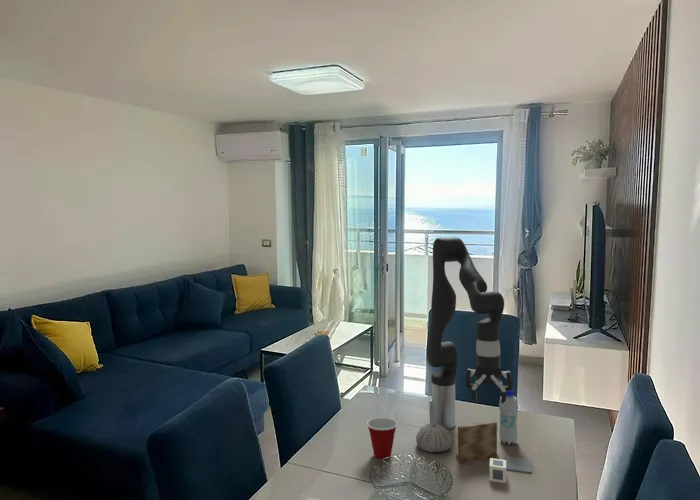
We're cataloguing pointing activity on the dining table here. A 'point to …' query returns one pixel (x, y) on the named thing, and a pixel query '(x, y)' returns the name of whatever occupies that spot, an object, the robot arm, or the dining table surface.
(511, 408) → the bottle
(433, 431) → the sea urchin shell
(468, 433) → the walnut screen
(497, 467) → the white marker cube
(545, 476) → the dining table surface
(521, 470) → the slate coaster
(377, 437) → the plastic cup
